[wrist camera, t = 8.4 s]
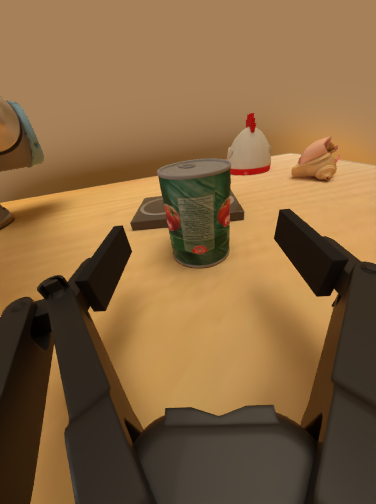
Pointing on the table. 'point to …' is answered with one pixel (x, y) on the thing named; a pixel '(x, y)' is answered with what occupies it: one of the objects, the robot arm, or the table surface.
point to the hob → (155, 215)
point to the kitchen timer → (249, 151)
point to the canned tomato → (197, 210)
